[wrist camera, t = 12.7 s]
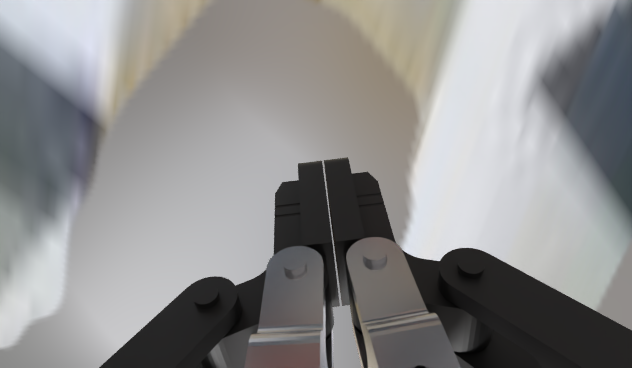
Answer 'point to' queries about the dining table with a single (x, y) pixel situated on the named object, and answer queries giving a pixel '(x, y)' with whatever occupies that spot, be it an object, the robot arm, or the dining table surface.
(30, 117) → the dining table surface
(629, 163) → the dining table surface
